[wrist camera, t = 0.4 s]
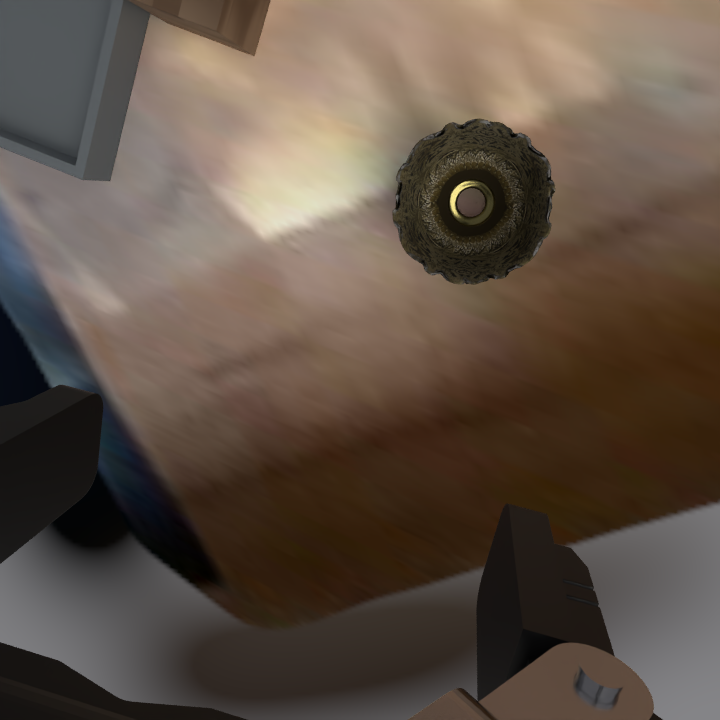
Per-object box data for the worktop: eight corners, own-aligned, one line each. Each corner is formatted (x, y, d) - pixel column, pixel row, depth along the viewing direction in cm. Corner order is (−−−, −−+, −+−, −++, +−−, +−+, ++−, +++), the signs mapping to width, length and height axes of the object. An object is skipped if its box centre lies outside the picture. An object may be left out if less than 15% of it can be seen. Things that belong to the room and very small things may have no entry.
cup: (523, 275, 38) (538, 296, 30) (399, 258, 39) (382, 274, 31) (549, 142, 36) (571, 128, 28) (417, 127, 37) (404, 109, 29)
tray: (-43, -124, 37) (-86, -150, 34) (164, -46, 36) (138, -67, 34) (-78, 106, 41) (-119, 99, 38) (109, 180, 40) (82, 179, 37)
